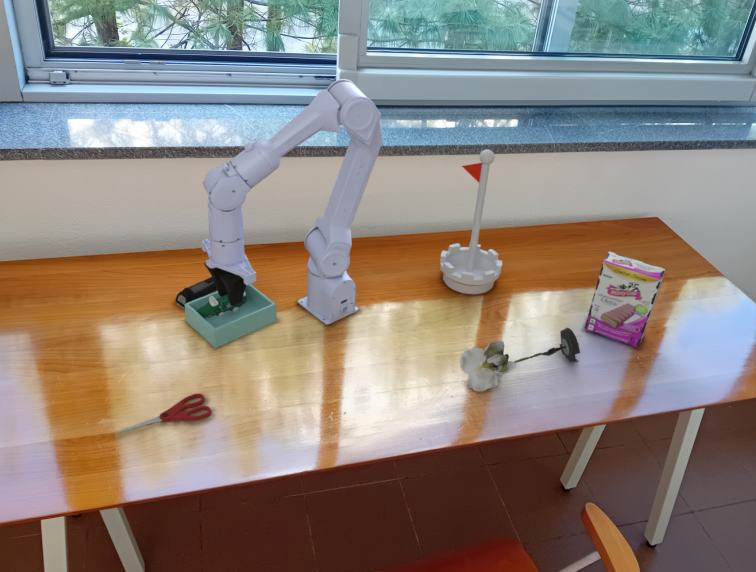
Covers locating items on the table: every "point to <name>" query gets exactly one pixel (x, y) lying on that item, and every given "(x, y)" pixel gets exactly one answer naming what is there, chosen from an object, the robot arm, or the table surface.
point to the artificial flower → (506, 360)
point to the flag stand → (472, 245)
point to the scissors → (179, 412)
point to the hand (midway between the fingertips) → (230, 298)
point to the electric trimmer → (195, 292)
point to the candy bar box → (624, 299)
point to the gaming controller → (219, 306)
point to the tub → (232, 317)
